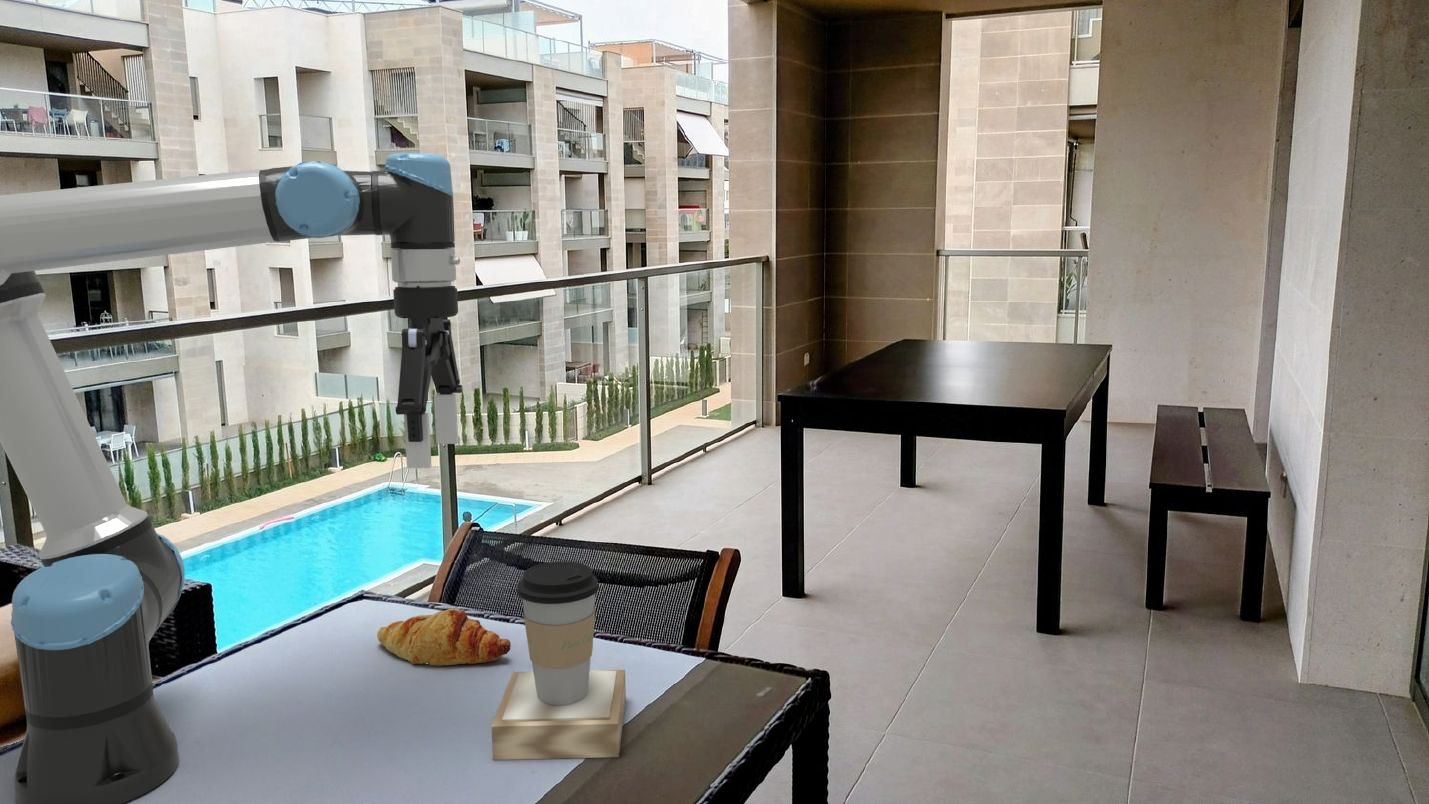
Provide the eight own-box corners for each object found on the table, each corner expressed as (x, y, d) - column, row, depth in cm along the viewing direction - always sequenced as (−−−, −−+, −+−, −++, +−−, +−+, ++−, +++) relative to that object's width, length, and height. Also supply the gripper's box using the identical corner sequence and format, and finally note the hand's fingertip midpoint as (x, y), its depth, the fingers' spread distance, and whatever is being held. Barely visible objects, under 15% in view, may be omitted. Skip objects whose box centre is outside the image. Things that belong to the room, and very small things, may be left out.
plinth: (493, 759, 113) (491, 724, 112) (513, 701, 126) (512, 669, 126) (618, 757, 113) (617, 721, 112) (625, 699, 127) (625, 667, 126)
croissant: (368, 676, 142) (347, 639, 137) (402, 621, 150) (383, 584, 145) (503, 692, 136) (486, 654, 131) (531, 633, 144) (516, 595, 139)
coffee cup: (587, 716, 113) (583, 589, 111) (508, 708, 115) (502, 583, 113) (612, 679, 123) (609, 561, 120) (539, 673, 124) (534, 556, 122)
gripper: (429, 290, 111) (439, 478, 114) (478, 279, 135) (484, 434, 139) (360, 290, 110) (372, 479, 114) (421, 279, 135) (429, 434, 139)
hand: (434, 455), depth 126 cm, fingers open, 13 cm apart
